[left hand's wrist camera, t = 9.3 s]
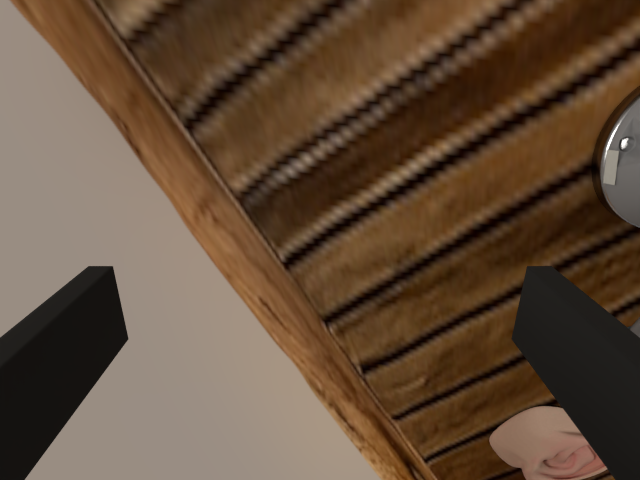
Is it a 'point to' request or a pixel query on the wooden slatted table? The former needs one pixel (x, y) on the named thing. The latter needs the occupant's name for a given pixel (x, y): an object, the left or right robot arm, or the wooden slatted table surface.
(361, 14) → the wooden slatted table surface
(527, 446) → the anatomical model
